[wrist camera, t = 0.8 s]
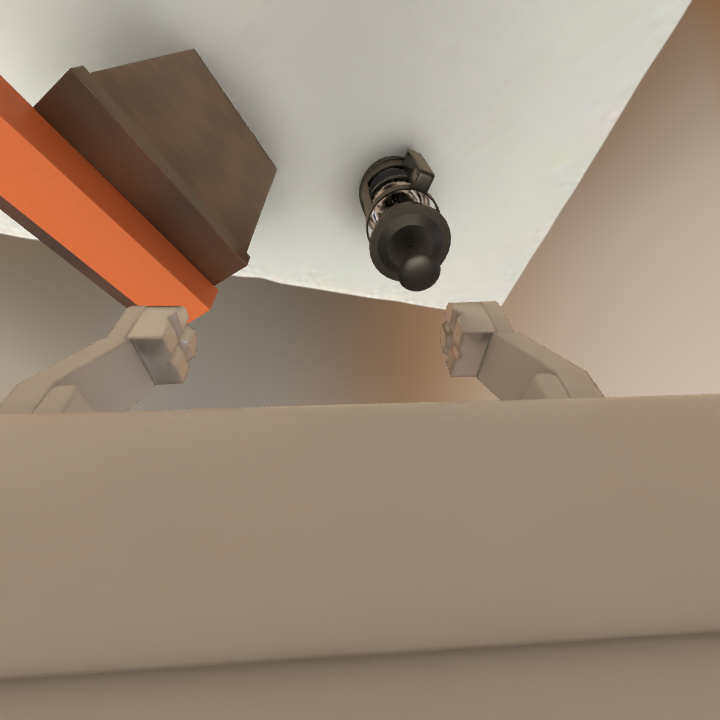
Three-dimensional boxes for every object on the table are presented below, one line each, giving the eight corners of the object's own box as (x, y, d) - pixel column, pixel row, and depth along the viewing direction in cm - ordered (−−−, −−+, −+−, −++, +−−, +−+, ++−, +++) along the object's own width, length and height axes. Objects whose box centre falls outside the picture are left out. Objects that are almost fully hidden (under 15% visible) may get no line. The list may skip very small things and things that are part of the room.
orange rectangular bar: (-224, -38, 18) (-301, -46, 16) (-188, -111, 16) (-267, -130, 14) (182, 312, 33) (171, 333, 31) (218, 290, 32) (210, 310, 30)
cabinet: (116, 114, 44) (-46, 188, 25) (193, 43, 40) (70, 67, 21) (209, 219, 53) (142, 330, 34) (280, 170, 49) (247, 265, 30)
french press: (405, 236, 57) (435, 328, 40) (348, 216, 54) (355, 305, 37) (442, 158, 49) (498, 230, 33) (378, 130, 47) (404, 194, 30)
